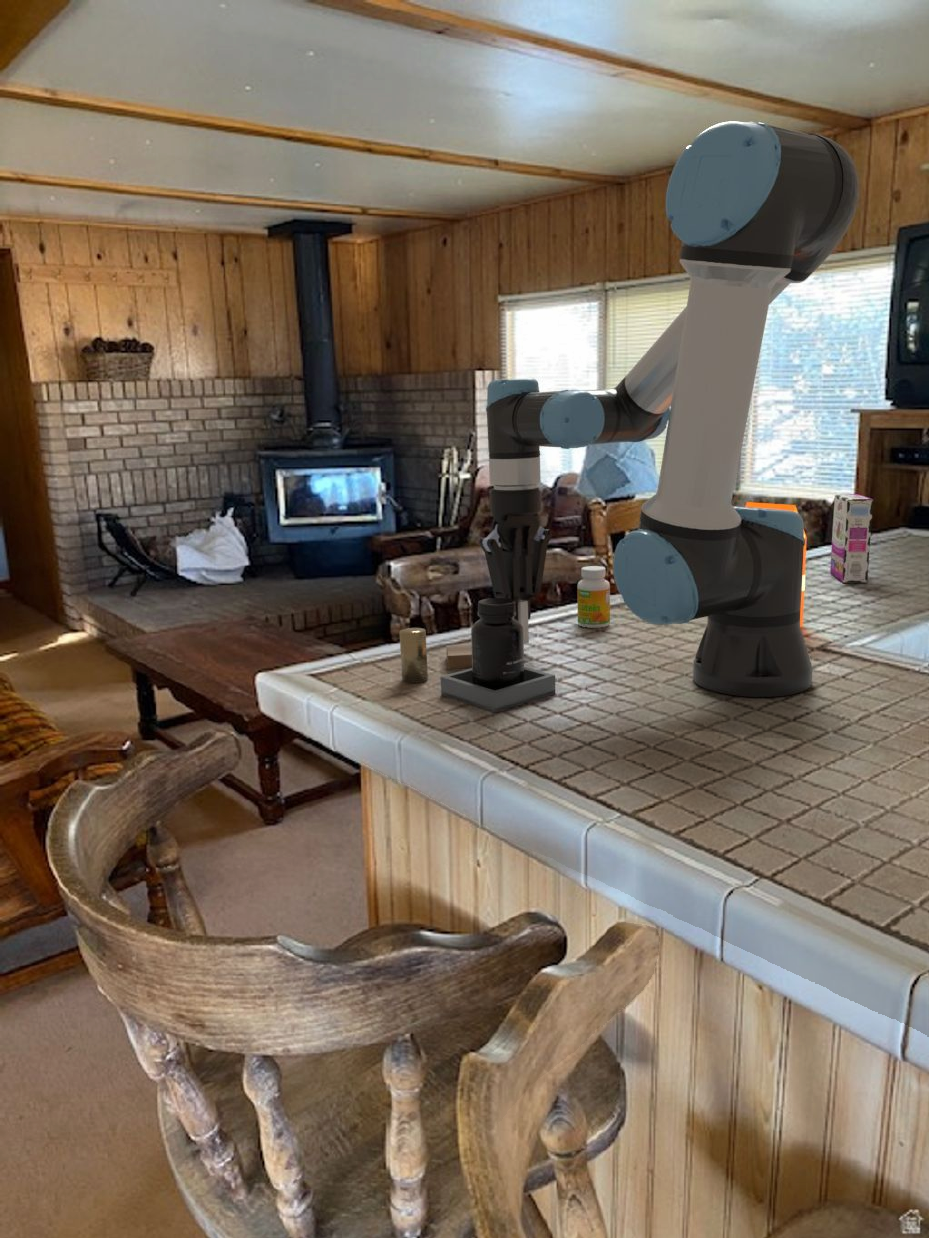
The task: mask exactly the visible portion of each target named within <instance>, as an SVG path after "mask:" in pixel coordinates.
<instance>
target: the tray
mask: <svg viewBox="0 0 929 1238" xmlns="http://www.w3.org/2000/svg"><path fill="white" fill-rule="evenodd" d="M440 690H441V691H440V693H441V696H444V697H447V698H450V699H453V700H455V701H457V702H458V701H459V702H462V703H464V704H465V703H466V704H468V705H471V706H474V707H477V708H480V709H482V710H486V711H489V712H492V713H498V712H502V711H505V710H508V709H511V708H514V707H518V706H521V705H523V704H527V703H530V702H533V701H536V700H540V699H542V698H545V697H549V696H551V695H554V694H556V675H555V674H552V673H549V672H545V671H542V670H538V669H534V668H531V667H526V666H524V682H522V683H519V684H515V685H512V686H509V687H505V688H502V689H499V690H491V689H488V688H485V687H482V686H478V685H475V684H472V668H470V669H462V670H458V671H457V672H453V673H449V674H446V675H441V676H440Z"/></svg>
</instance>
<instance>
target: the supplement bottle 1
mask: <svg viewBox="0 0 929 1238" xmlns="http://www.w3.org/2000/svg"><path fill="white" fill-rule="evenodd" d="M477 602H478V603H477V616H478V617H479V619H478V620H477V621H475V622H474V623H473V625H472V626H471V630H470V642H471V649H472V684H475V685H478V686H482V687H485V688H488V689H491V690H499V689H502V688H505V687H509V686H512V685H515V684H519V683H522V682H524V667H525V644H524V632H523V626H522V625H521V623H520V622H519V621H517V620H515V619H514V616H515V615H516V611H515V601H514V600H512V599H507V598H496V597H495V598H494V597H491V598H484V599H481V600H479V601H477Z"/></svg>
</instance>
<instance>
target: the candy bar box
mask: <svg viewBox="0 0 929 1238" xmlns="http://www.w3.org/2000/svg"><path fill="white" fill-rule="evenodd" d="M833 504H834V505H833V517H832V518H833V519H832V536H831V537H832V538H831V549H830V550H831V552H830V567H829V568H830V569H829V570H830V572H829V574H830V575H832V577H834V578H836V579H837V580H838V581H840V582H841V583H843V584H867V583H868V581H869V580H868V579H869V565H870V564H869V563H870V551H871V538H872V537H871V536H872V524H873V523H872V521H873V509H874V499H873V498H870V497H867V496H864V495H861V494H858V493H857V494H855V493H845V494H844V493H842V494H841V493H840V494H839V493H838V494H837V493H836V494H834V501H833Z"/></svg>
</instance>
